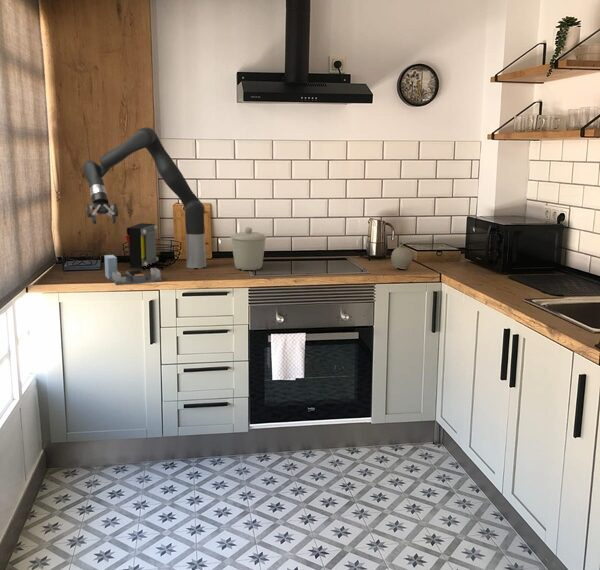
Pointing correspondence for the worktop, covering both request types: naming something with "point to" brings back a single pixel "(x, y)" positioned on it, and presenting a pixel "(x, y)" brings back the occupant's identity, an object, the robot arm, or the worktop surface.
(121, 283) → the rack
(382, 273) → the worktop surface
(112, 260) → the pale blue upright block
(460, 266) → the worktop surface
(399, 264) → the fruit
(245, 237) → the canister
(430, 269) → the worktop surface
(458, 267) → the worktop surface
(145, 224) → the electrical component
